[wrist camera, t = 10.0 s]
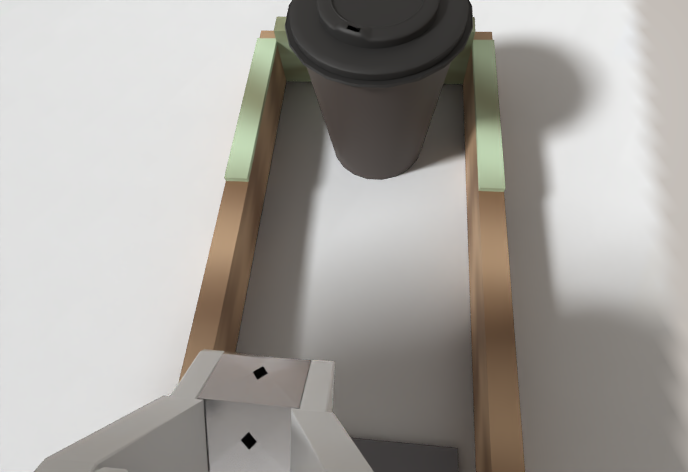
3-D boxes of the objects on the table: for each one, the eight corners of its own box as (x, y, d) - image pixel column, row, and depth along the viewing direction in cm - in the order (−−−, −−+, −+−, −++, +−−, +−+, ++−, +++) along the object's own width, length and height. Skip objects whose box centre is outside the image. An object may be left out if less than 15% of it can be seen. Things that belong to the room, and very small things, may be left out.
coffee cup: (313, 206, 25) (278, 74, 16) (309, 98, 29) (278, -60, 20) (455, 193, 25) (499, 52, 16) (433, 85, 29) (460, -80, 20)
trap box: (530, 934, 14) (586, 1110, 10) (106, 849, 15) (22, 977, 11) (481, 70, 29) (495, 17, 25) (271, 67, 30) (257, 16, 27)
